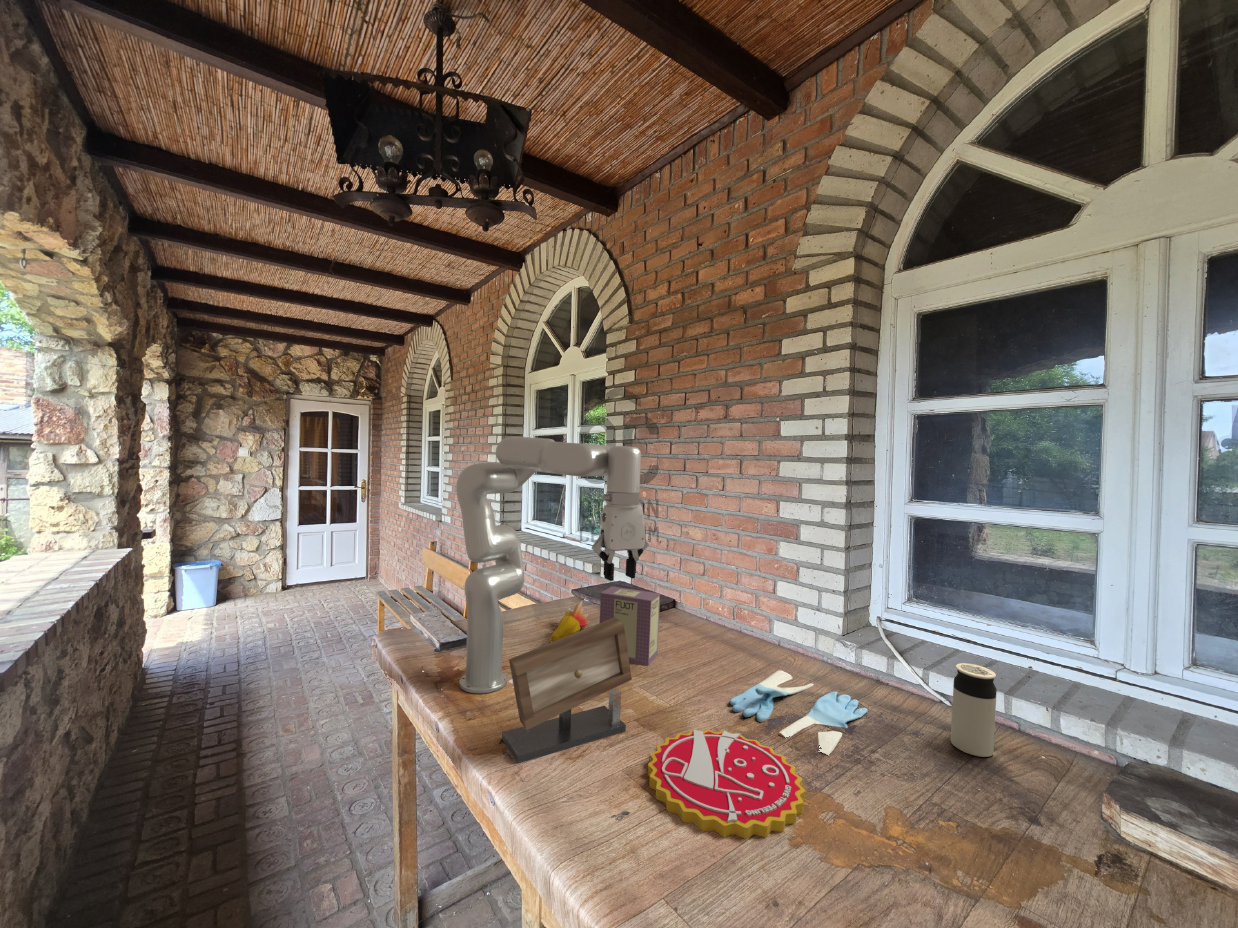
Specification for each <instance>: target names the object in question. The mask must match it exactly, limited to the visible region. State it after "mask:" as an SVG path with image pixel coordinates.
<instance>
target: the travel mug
mask: <svg viewBox="0 0 1238 928" xmlns="http://www.w3.org/2000/svg"><path fill="white" fill-rule="evenodd" d="M955 668H956V670H957V671H956V672H957V674H956V675H955V676H954V678H953V689H952V707H951V709H952V710H951V727H950V728H951V729H950V743H951V744H952V745H953V746H954V747H956V748H957V749H958V750H959V751H962V752H963V753H965V754H968V755H970V756H974V757H981V758H986V757H992V756H993V755H994V747H995V746H994V744H995V727H996V708H997V707H996V705H997V691H998V690H997V687H996V685H995V683H994V681H995V679H996V677H997V675H996V673H995V672H994V671H993V670H992V669H990V668H987V667H984V666H981V665H979V664H974V663H973V664H972V663H965V662H962V663H961V662H960V663H957V664H956V665H955Z"/></svg>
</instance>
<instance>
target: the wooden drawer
mask: <svg viewBox="0 0 1238 928" xmlns="http://www.w3.org/2000/svg"><path fill="white" fill-rule="evenodd" d="M508 662H509V668H510V673H511V678H512V685H513V690H514V695H515V701H516V708H517V712H518V718H519V722H520V724H521V725H523V726H522V727H525V729H526V730H528V729H530V728H532V727H534V726H536V725H538V724H540V723H543V722H545V721H547V720H551V719H554V718H556V717H557V716H559V714H561V713H563V712H565V711H567V710H570V709H571V710H572V709H574V708H575V707H577V706H580V705H582V704H584V703H585V702H586V703H587V702H588V701H590V700H592V699H594V698H596V697H599V696H601V695H604V694H605V693H607V692H609V690H613V689H616V688H617V687H619V686H621V685H623V684H625V683H628V682H630V681H632V679H633V677H632V671H631V665H630V663H631V662H629V657H628V650H627V643H626V636H625V629H624V623H623V622H622V621H620V620H618V619H617V618H615V617H614V618H612V619H609V620H607V621H604V622H602V623H600V622H599V623H597V624H595V625H591V626H589V627H587V628H586V627H585V628H584V629H582V630H579V632H576V633H574V634H571V635H569V636H566V637H564V638H561V639H559V640H556V641H554V642H552V641H551V642H549V643H546V644H544V645H542V646H539V647H537V648H534V649H531V650H529V651H527V652H524V653H522V654H519V655H516V656H514V657H511V658H509V659H508Z"/></svg>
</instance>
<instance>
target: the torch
mask: <svg viewBox="0 0 1238 928" xmlns="http://www.w3.org/2000/svg"><path fill="white" fill-rule="evenodd" d="M582 605H583V600H581V601H579V602H578V603H577V604H576V605H575V606H574V609H573V611H572V609H571V607H569V608H567V609H565V611H564V616H562V618H561V619H560V620H559V623H558V626H557V628H556V629H555V630H554V631H553V632H552V633H551V635H550V641H551V642H554V641H556V640H559V639H561V638H564V637H566V636H569V635H571V634H574V633H576V632H579V631H581V630H584V629H586V627H587V626H588V624H589V623H590V620H589V619H586V618H587V617H588V616H589V614H587V613H584V608H583V607H582Z"/></svg>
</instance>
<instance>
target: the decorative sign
mask: <svg viewBox="0 0 1238 928" xmlns="http://www.w3.org/2000/svg"><path fill="white" fill-rule="evenodd" d="M655 748H656V750H655V751H654V752H650V754H649V762H648V764H647V776H648V777H649V785H648V786H649V788H651V789H653V790H654V791H655V799H656V800H657V801H659V802H662V803H664V804H665V808H666V811H667V812H669V813H672V814H677V815H678V816H679V818H680V819H681V822H682V823H687V824H695V825H696V826H697V827H698V828H699V830H701V831H702V832H710V831H713V832H716V833H717V834H719V835H720V836H722V837H723V838H726V837H729V836H731V835H734V836H735V835H736V836H738V837H740V838H742V839H744V840H749V838H751V837H752V836H754V835H755V836H759V837H764V838H768V837H769V835H770V833H771V832H779V833H783V832H785V826H786V825H793V824H797V815H800V814H803V813H804V802H806V789H805V788H804V787H803V781H804V780H803V778H802V777H801V776H800V775H798V774H797V773H796V767H795V766H794V765H792V764H791V763H788V762H787V761H786V760H787V759H786V757H785V756H784V755H782V754H778V753H776V752H775V751H774V749H773V747H771V746H768V745H767V746H766V745H763V744H761V743H760V742H759V741H758V739H752V738H751V739H750V738H749V739H748V738H746V737H745V736H743V735H742V734H741V733H740V732H739V733H731V732H728V731H727V730H722V731H718V732H715V731H713V730H710V729H706V730H704V731H703V730H698V729H693V730H691V731H689V732H688V733H682V732H681V733H679V732H678V733H677V734H676V736H675V737H666V738H665V742H664V743H659V744H656V747H655Z"/></svg>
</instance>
